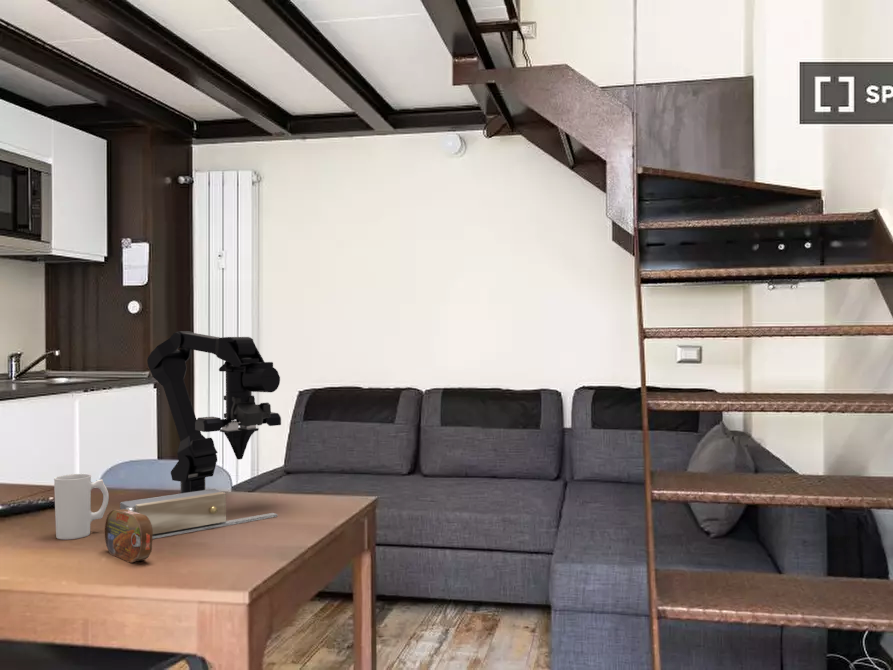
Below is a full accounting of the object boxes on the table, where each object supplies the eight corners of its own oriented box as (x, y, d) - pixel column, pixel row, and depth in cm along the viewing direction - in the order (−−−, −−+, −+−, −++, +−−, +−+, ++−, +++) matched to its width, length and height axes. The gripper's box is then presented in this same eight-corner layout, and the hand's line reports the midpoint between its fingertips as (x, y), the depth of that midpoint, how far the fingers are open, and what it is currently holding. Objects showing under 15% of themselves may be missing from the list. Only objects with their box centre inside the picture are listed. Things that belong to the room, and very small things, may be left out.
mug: (55, 541, 149) (54, 481, 149) (54, 534, 155) (53, 475, 155) (110, 534, 154) (109, 476, 154) (107, 527, 160) (106, 471, 160)
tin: (103, 551, 143) (102, 506, 143) (119, 547, 145) (119, 503, 145) (139, 567, 132) (138, 519, 132) (156, 563, 134) (155, 516, 134)
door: (135, 534, 151) (135, 504, 151) (222, 519, 162) (221, 491, 162) (140, 537, 148) (140, 507, 148) (228, 522, 160) (227, 493, 160)
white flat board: (125, 541, 149) (124, 507, 149) (273, 514, 170) (272, 485, 170) (128, 543, 148) (128, 509, 148) (277, 516, 168) (277, 486, 168)
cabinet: (120, 534, 155) (120, 502, 155) (214, 517, 168) (214, 488, 168) (130, 539, 150) (130, 507, 150) (226, 523, 163) (225, 492, 163)
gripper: (214, 395, 162) (215, 468, 162) (292, 390, 174) (293, 458, 174) (193, 393, 170) (194, 462, 170) (269, 388, 182) (270, 453, 182)
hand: (239, 459), depth 174 cm, fingers closed
